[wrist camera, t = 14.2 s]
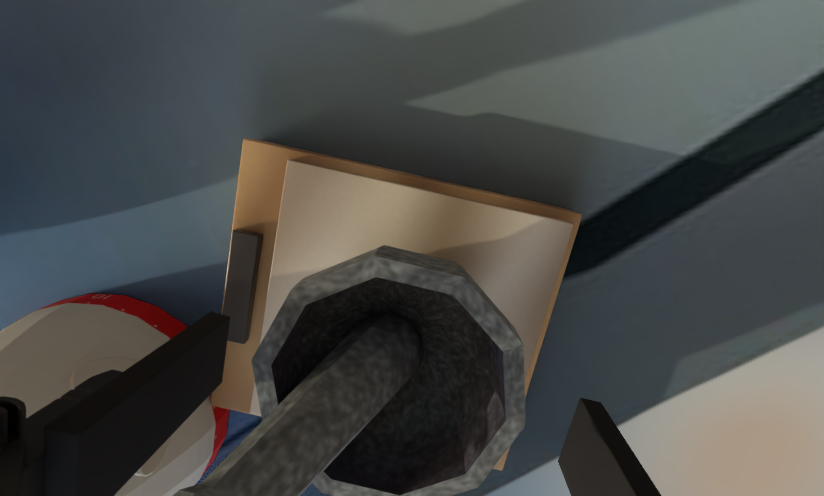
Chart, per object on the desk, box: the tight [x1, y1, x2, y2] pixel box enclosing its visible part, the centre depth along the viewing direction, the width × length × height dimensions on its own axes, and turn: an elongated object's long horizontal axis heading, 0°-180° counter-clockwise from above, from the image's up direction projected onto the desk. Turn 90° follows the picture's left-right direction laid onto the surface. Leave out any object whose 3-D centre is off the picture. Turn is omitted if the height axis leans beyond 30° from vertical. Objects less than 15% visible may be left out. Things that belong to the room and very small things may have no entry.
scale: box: [210, 138, 582, 471], centre depth 23 cm, size 17×15×3 cm
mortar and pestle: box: [173, 245, 526, 496], centre depth 16 cm, size 11×9×12 cm
